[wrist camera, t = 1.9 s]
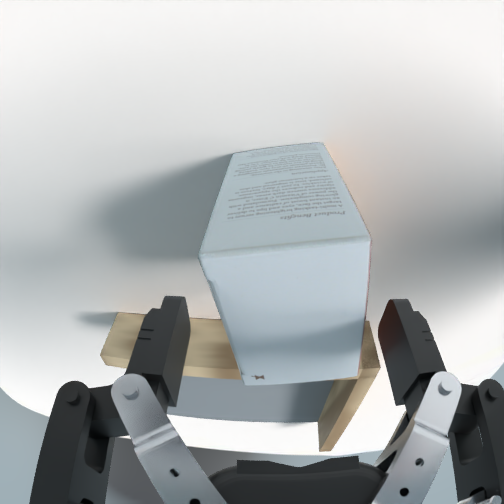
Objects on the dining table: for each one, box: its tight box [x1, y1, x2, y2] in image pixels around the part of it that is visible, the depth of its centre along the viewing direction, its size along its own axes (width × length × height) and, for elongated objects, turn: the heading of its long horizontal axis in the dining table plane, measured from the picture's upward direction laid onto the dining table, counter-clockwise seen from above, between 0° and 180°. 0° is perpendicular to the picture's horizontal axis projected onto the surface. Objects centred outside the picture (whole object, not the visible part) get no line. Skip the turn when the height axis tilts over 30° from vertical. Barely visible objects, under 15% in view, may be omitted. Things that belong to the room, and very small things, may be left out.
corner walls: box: [100, 312, 381, 452], centre depth 31 cm, size 22×20×5 cm
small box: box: [198, 143, 372, 386], centre depth 16 cm, size 8×6×10 cm
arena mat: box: [167, 376, 334, 422], centre depth 33 cm, size 21×19×1 cm
